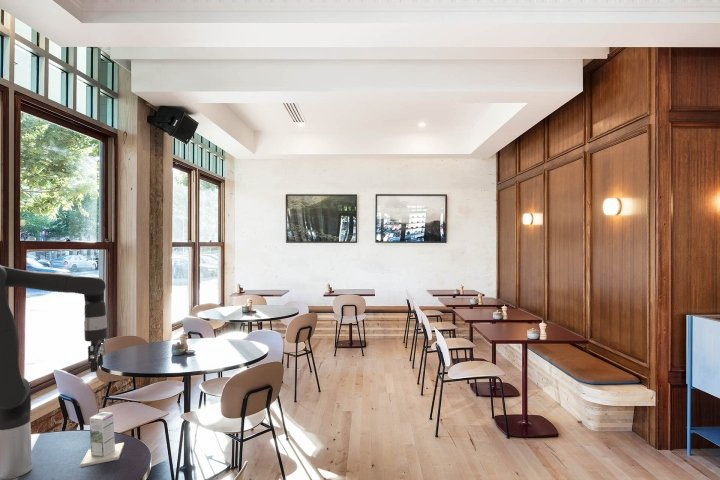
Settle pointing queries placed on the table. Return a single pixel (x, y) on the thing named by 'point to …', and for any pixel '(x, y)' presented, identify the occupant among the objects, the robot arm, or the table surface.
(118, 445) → the ceramic tile
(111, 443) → the syrup box
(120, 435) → the table surface
